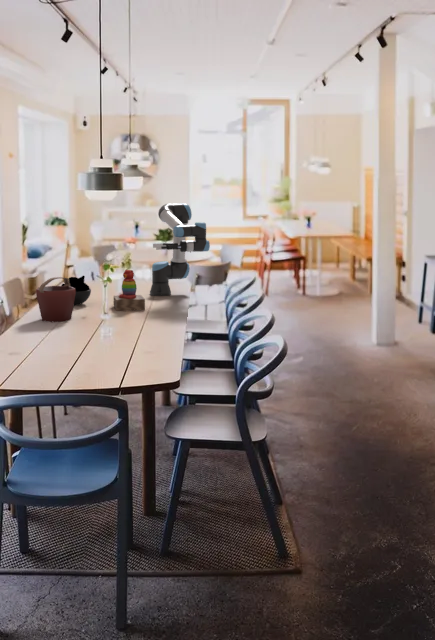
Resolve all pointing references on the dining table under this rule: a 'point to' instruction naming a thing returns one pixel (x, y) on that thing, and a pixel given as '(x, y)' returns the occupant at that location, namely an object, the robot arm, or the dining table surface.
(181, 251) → the robot arm
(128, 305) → the walnut block
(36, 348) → the dining table surface
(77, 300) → the coal bowl
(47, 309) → the bucket
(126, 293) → the stacking bear
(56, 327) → the dining table surface
